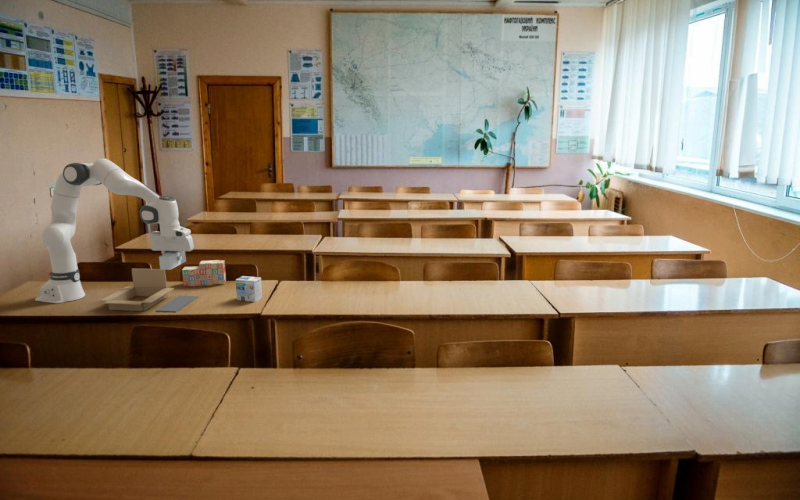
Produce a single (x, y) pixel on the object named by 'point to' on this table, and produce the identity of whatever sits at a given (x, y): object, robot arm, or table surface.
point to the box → (171, 260)
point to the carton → (140, 291)
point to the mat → (177, 304)
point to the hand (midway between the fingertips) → (173, 259)
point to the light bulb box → (249, 288)
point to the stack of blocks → (205, 273)
